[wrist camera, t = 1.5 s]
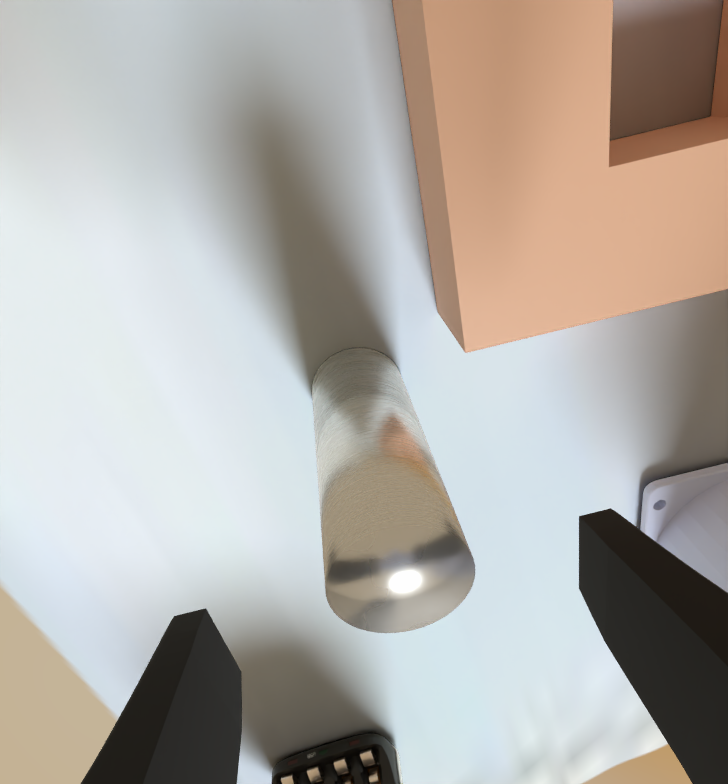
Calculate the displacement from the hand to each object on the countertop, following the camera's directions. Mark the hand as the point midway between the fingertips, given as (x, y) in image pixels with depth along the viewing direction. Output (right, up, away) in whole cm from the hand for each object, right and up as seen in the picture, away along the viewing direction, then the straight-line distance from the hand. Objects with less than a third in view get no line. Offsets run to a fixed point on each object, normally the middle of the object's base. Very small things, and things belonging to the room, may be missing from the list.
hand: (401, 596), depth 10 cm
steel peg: (-1, +4, +7) cm, 8 cm away
